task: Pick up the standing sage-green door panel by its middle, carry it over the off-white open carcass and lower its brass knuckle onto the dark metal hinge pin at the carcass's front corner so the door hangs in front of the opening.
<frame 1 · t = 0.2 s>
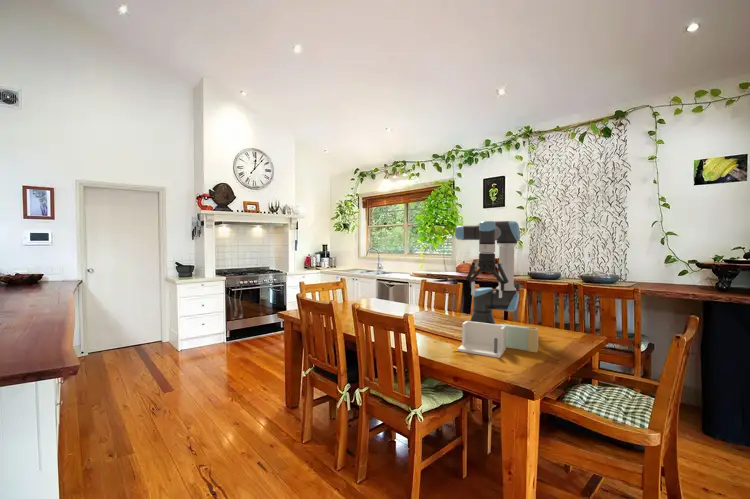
hand: (486, 296, 180), 27 cm above the table, fingers open, 13 cm apart
door: (531, 350, 181), on the table
carcass: (481, 350, 182), on the table
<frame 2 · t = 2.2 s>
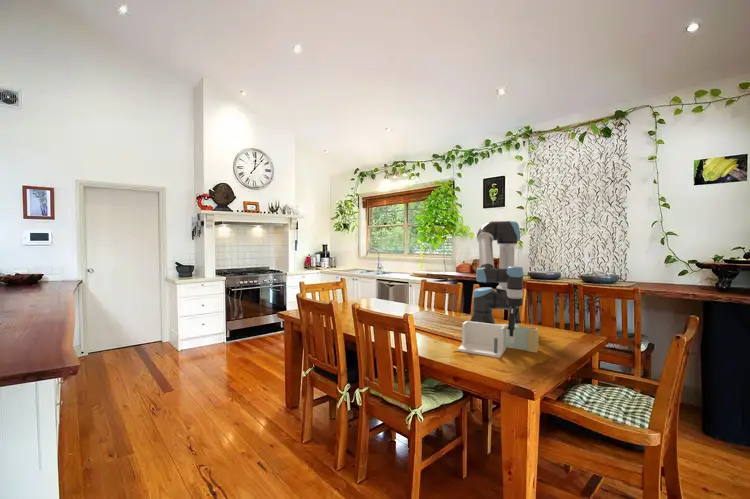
hand: (514, 339, 185), 4 cm above the table, fingers open, 13 cm apart
nothing on the table moved.
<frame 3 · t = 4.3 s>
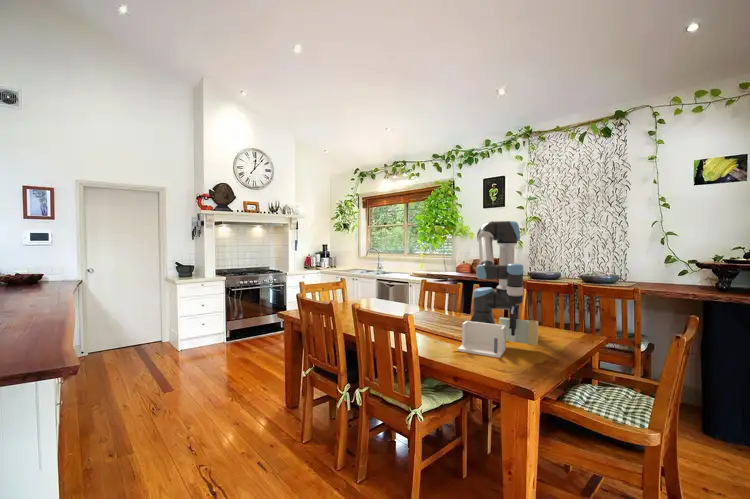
hand: (513, 340, 186), 4 cm above the table, fingers closed on door, 3 cm apart
door: (531, 343, 182), point 3 cm above the table, touching gripper
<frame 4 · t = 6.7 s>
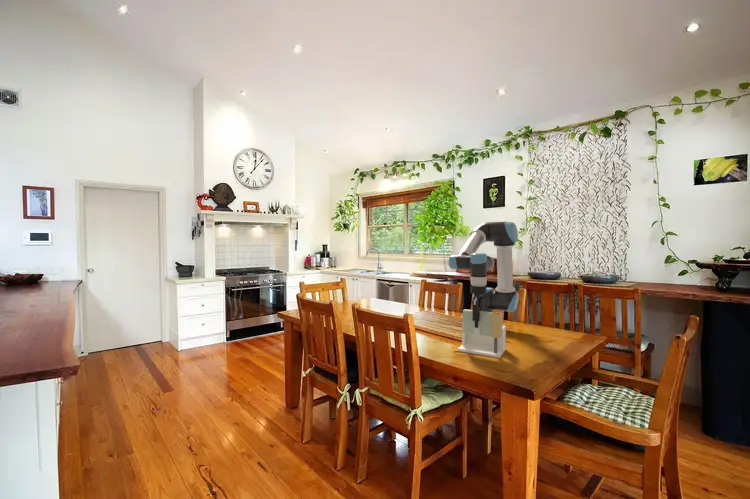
hand: (477, 333, 178), 9 cm above the table, fingers closed on door, 3 cm apart
door: (495, 336, 174), point 9 cm above the table, touching gripper
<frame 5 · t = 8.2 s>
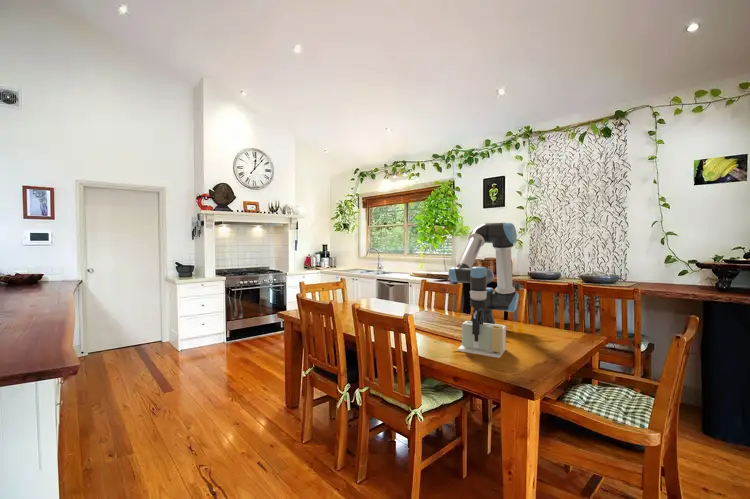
hand: (477, 346, 179), 3 cm above the table, fingers closed on door, 3 cm apart
door: (495, 349, 174), point 3 cm above the table, touching gripper
when the fingers open (2 cm above the table, at t = 9.2 s): door stays where it is, resting on carcass.
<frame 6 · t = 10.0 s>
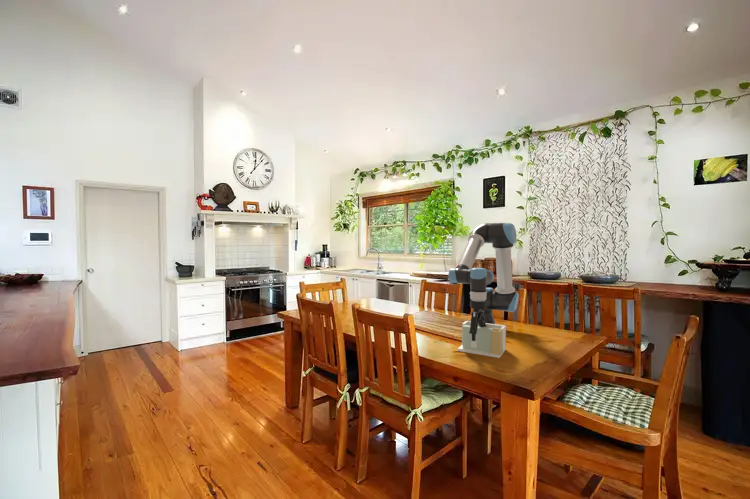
hand: (477, 343, 178), 4 cm above the table, fingers open, 13 cm apart
door: (495, 352, 175), point 1 cm above the table, touching carcass
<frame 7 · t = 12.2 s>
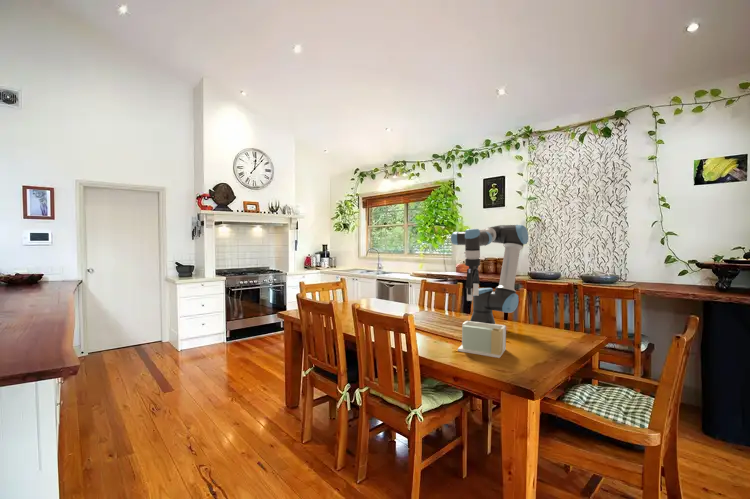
hand: (473, 298, 195), 23 cm above the table, fingers open, 13 cm apart
nothing on the table moved.
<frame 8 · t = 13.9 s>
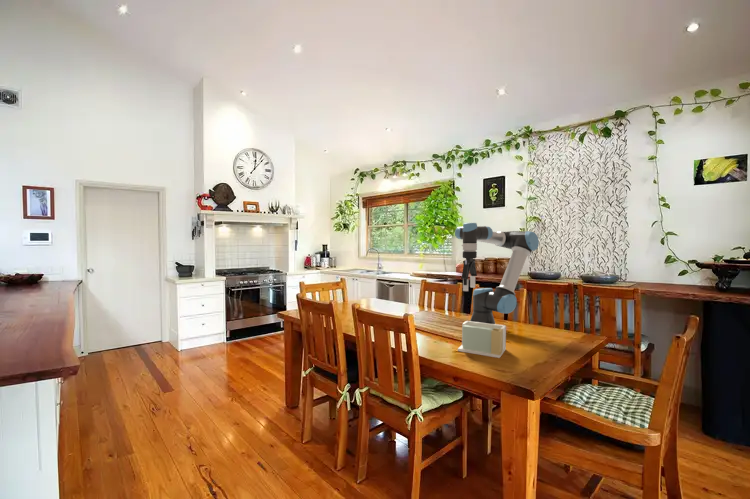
hand: (469, 289, 203), 27 cm above the table, fingers open, 13 cm apart
nothing on the table moved.
at the end: door 0.1 cm from the target spot, point 1.2 cm above the table; door tilted 0°; the gripper is holding nothing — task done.
